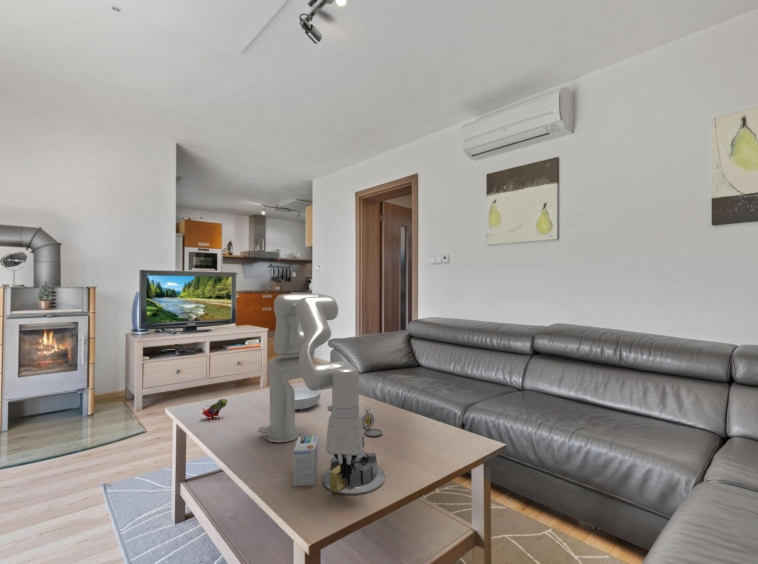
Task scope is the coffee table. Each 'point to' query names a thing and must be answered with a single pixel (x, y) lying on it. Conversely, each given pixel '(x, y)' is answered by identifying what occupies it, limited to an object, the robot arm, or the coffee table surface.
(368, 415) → the pocket watch
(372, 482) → the spindle plate
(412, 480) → the coffee table surface
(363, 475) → the castellated metal disc
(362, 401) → the coffee table surface
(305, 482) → the light bulb box
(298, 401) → the serving bowl
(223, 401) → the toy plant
